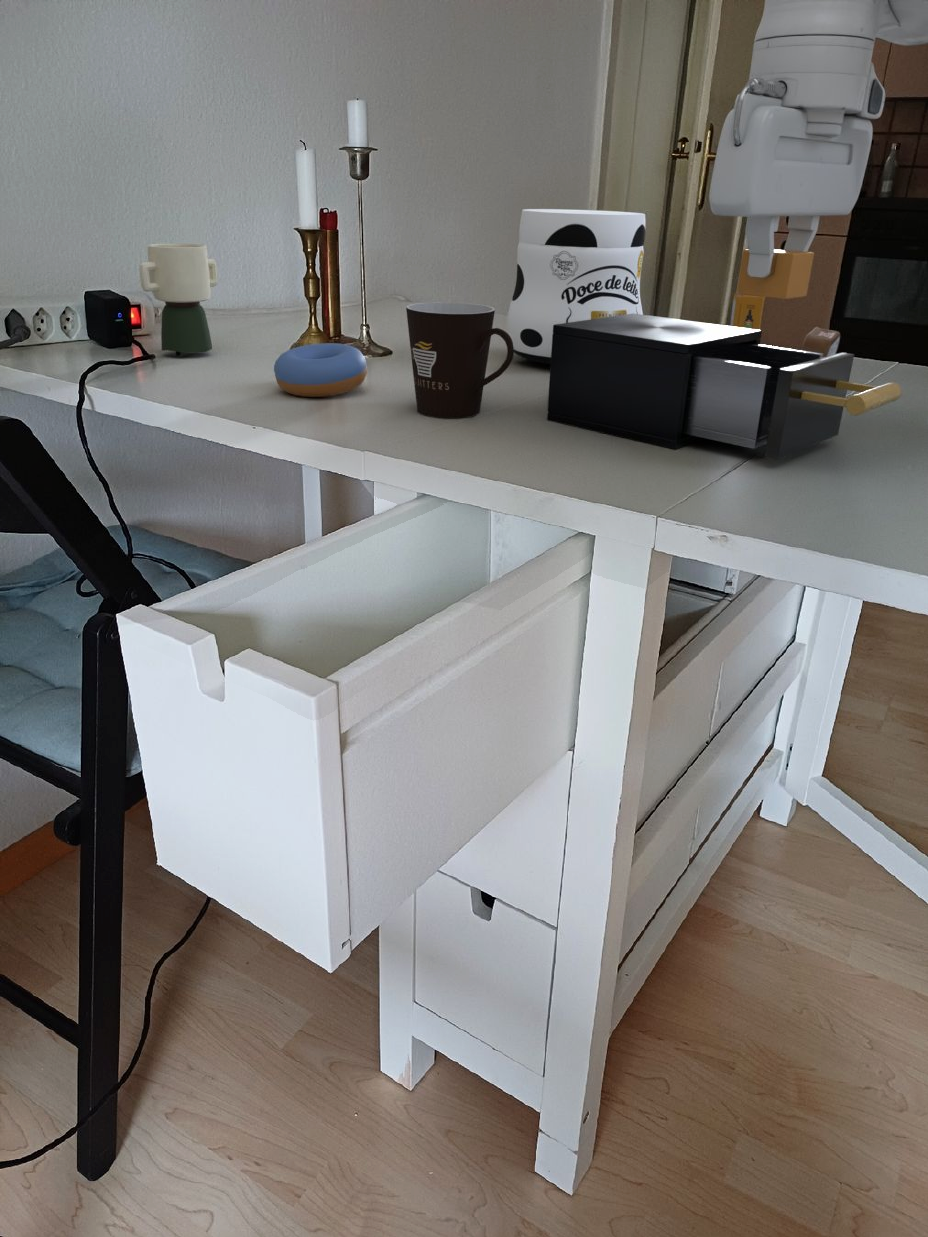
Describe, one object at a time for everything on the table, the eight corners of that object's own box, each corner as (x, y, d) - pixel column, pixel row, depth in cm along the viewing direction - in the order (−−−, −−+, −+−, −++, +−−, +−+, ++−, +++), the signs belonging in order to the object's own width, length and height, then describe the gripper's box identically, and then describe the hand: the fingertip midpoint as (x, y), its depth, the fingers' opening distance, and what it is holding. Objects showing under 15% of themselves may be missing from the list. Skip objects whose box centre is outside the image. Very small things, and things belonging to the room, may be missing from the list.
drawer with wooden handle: (897, 446, 82) (917, 362, 79) (840, 474, 74) (860, 381, 71) (707, 409, 94) (718, 335, 91) (639, 429, 85) (648, 348, 82)
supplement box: (749, 377, 115) (763, 292, 111) (752, 382, 112) (766, 295, 107) (722, 375, 115) (734, 290, 111) (724, 380, 112) (736, 293, 108)
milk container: (608, 381, 110) (624, 216, 103) (481, 364, 118) (487, 209, 110) (657, 360, 124) (674, 213, 116) (540, 346, 132) (548, 207, 124)
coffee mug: (394, 404, 96) (394, 303, 92) (471, 399, 99) (474, 301, 95) (433, 431, 86) (435, 319, 82) (517, 425, 89) (523, 317, 85)
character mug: (206, 346, 124) (197, 242, 119) (239, 353, 120) (231, 245, 115) (134, 355, 117) (120, 244, 111) (167, 363, 113) (154, 248, 107)
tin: (800, 399, 104) (814, 321, 100) (829, 402, 103) (845, 323, 99) (778, 427, 92) (794, 339, 88) (811, 431, 90) (828, 342, 87)
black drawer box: (747, 425, 92) (762, 330, 88) (675, 449, 83) (688, 344, 79) (623, 400, 101) (632, 313, 97) (546, 420, 92) (552, 324, 88)
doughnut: (285, 403, 95) (283, 357, 93) (267, 384, 104) (264, 341, 102) (378, 397, 99) (378, 353, 97) (353, 379, 107) (352, 338, 105)
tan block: (806, 296, 79) (814, 252, 77) (785, 299, 76) (793, 253, 75) (757, 291, 82) (764, 248, 80) (736, 293, 79) (742, 249, 77)
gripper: (784, 72, 63) (751, 285, 69) (894, 96, 77) (859, 272, 83) (702, 76, 67) (678, 278, 73) (821, 98, 81) (792, 266, 87)
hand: (775, 275), depth 78 cm, fingers closed on tan block, 4 cm apart
